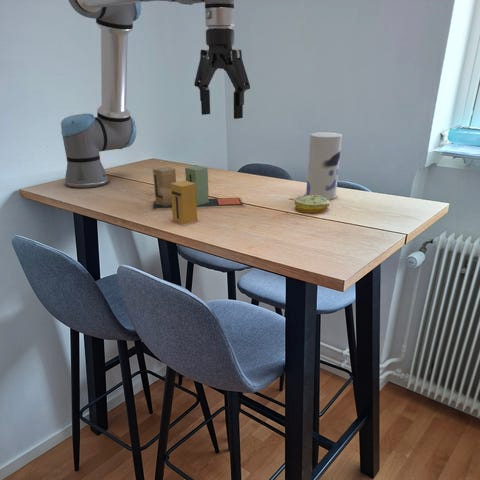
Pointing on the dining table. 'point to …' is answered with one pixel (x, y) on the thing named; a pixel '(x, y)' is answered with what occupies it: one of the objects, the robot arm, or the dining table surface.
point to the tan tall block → (163, 185)
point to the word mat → (212, 203)
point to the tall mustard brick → (184, 201)
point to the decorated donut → (311, 203)
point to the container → (323, 164)
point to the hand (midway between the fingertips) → (221, 116)
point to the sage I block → (199, 182)
